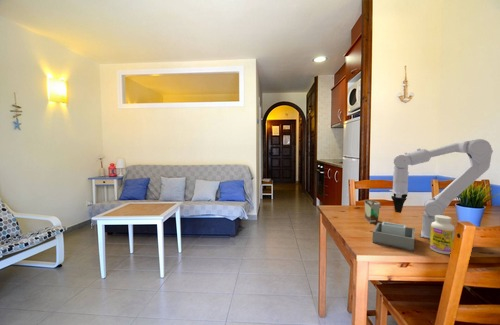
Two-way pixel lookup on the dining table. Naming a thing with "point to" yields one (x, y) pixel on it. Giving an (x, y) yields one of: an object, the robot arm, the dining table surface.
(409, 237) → the big crate
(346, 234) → the dining table surface
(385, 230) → the small crate
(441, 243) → the supplement bottle
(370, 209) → the food container
